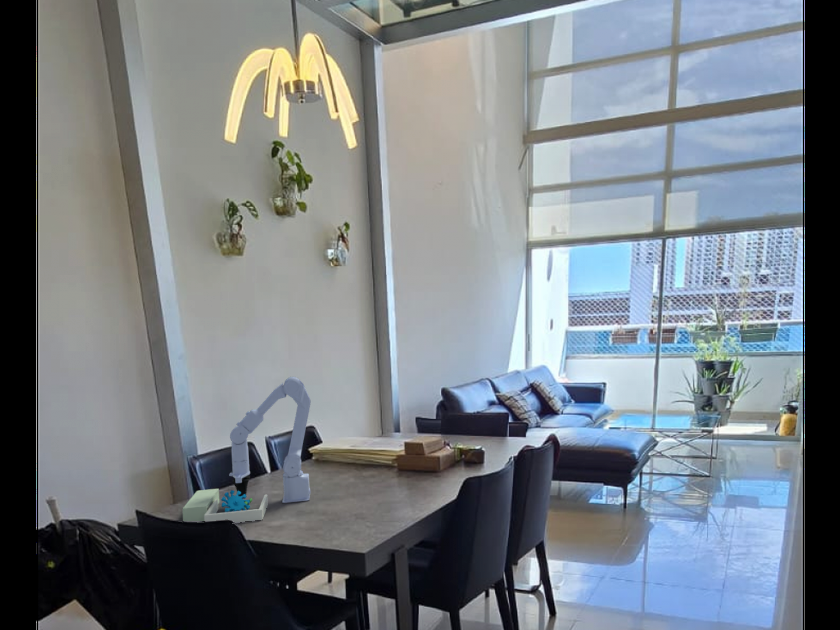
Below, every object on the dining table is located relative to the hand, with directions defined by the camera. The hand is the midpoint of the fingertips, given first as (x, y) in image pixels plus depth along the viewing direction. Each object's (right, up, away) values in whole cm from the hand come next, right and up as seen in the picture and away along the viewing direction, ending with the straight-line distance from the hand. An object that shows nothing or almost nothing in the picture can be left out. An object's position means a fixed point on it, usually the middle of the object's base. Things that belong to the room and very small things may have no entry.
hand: (242, 498), depth 211 cm
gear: (+1, -3, -10) cm, 10 cm away
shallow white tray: (+2, -2, -11) cm, 11 cm away
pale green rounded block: (-12, -3, -6) cm, 14 cm away
